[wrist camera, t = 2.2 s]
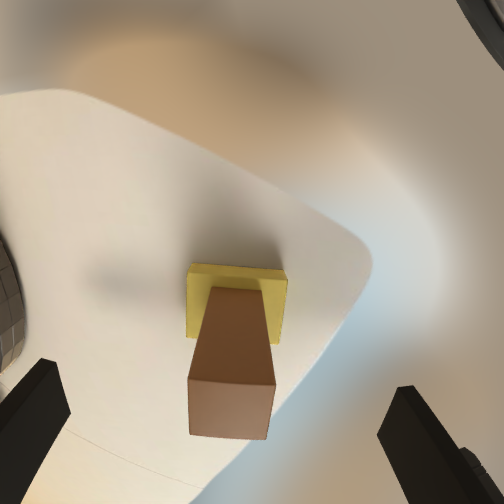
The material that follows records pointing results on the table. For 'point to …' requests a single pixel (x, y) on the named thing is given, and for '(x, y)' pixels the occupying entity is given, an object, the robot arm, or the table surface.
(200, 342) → the yellow block with handle
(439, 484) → the robot arm
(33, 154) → the table surface
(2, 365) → the frying pan
